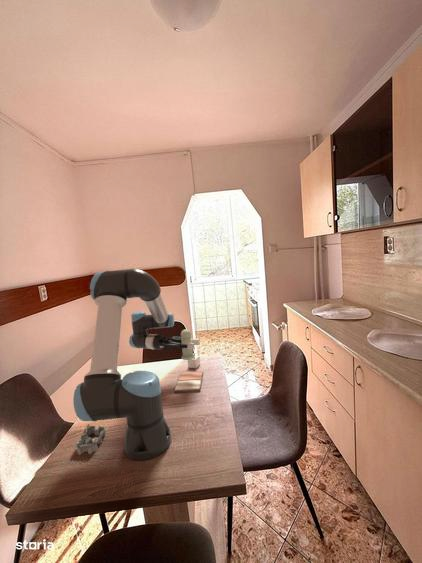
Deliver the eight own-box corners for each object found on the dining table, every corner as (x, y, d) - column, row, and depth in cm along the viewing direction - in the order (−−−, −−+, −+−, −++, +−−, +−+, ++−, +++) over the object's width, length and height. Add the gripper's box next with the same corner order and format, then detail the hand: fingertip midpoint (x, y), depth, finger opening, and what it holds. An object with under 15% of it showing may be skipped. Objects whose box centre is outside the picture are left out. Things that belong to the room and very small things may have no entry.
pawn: (187, 361, 125) (184, 332, 123) (179, 357, 129) (176, 330, 128) (197, 356, 129) (194, 328, 127) (189, 353, 134) (186, 326, 132)
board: (200, 391, 118) (200, 388, 117) (174, 392, 118) (173, 390, 118) (203, 373, 135) (203, 371, 135) (180, 375, 136) (180, 372, 136)
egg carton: (89, 433, 95) (88, 423, 94) (109, 433, 94) (108, 422, 94) (72, 455, 84) (70, 443, 84) (94, 455, 83) (93, 443, 83)
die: (196, 368, 143) (195, 359, 142) (188, 367, 145) (187, 358, 144) (200, 364, 148) (199, 355, 147) (192, 363, 149) (191, 355, 149)
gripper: (166, 343, 144) (204, 345, 135) (146, 355, 128) (188, 358, 118) (165, 329, 143) (203, 331, 134) (145, 340, 127) (187, 342, 118)
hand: (196, 344), depth 126 cm, fingers closed on pawn, 5 cm apart
